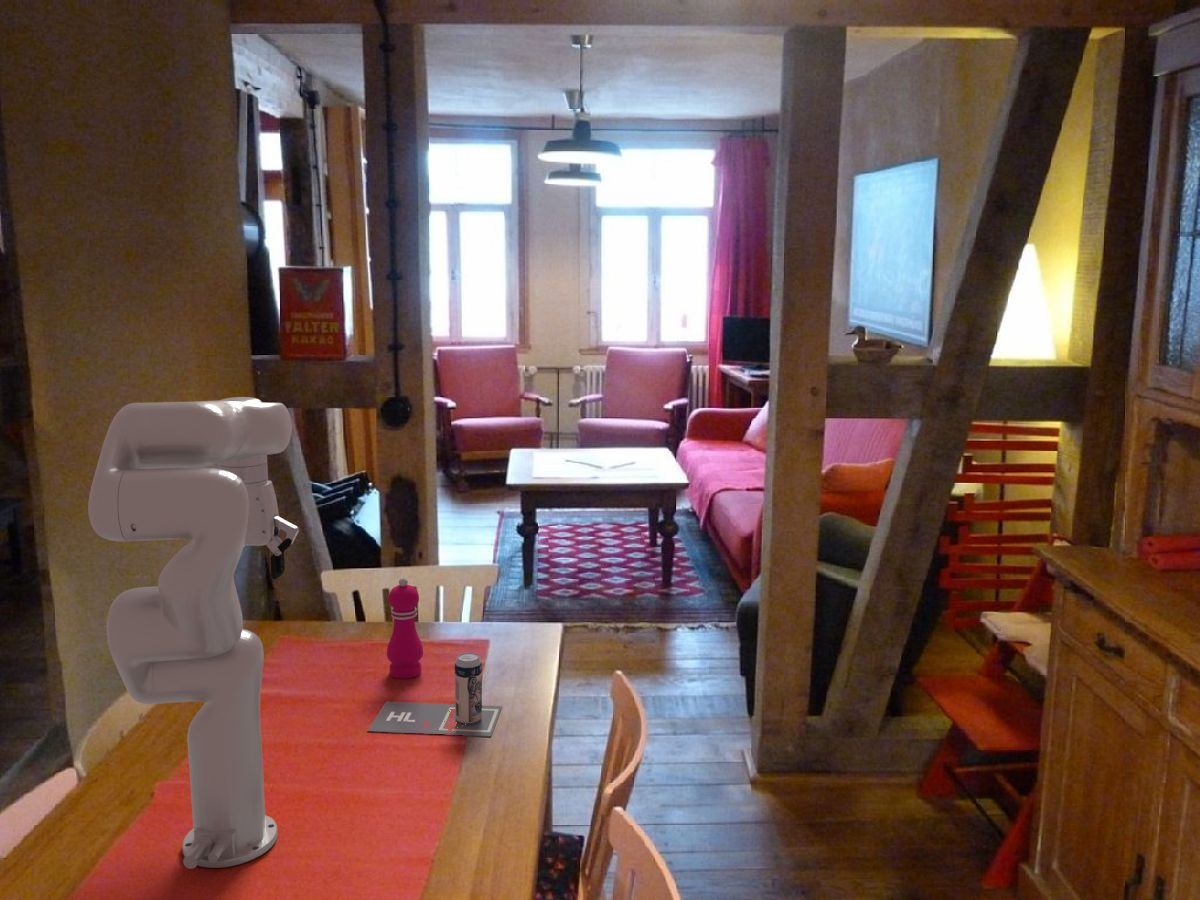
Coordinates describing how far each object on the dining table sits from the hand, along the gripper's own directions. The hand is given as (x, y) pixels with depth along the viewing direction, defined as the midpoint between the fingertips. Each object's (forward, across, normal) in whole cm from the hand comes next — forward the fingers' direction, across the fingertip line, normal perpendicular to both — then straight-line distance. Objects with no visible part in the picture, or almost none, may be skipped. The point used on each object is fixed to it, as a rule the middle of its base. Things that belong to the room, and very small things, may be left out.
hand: (248, 575), depth 161 cm
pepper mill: (+31, +17, +33) cm, 48 cm away
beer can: (+30, +34, +13) cm, 47 cm away
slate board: (+30, +28, +13) cm, 43 cm away
